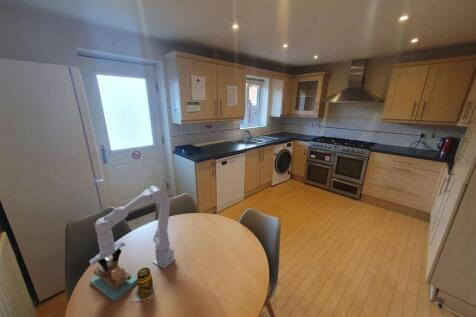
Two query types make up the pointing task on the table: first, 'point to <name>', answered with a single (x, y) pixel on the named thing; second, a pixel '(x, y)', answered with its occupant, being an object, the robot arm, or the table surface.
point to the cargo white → (101, 266)
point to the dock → (110, 290)
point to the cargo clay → (118, 273)
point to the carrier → (107, 275)
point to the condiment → (144, 285)
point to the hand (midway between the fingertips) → (111, 267)
